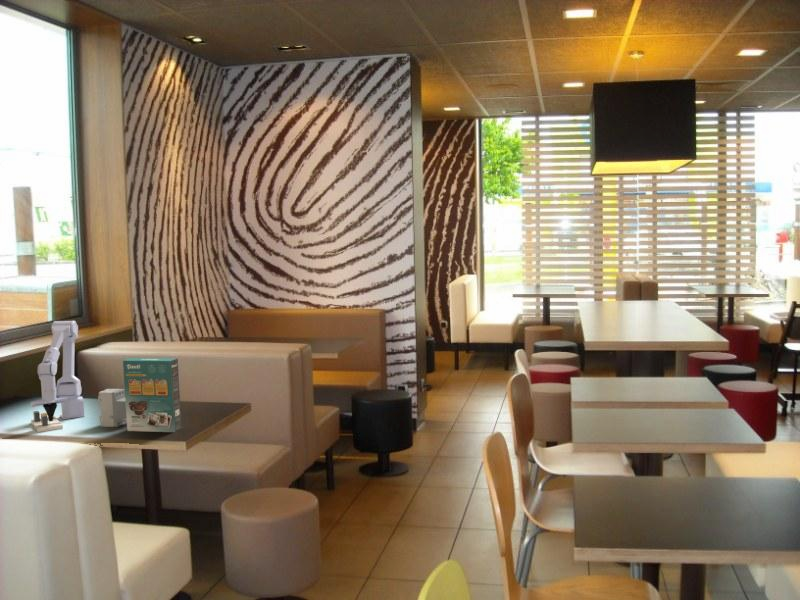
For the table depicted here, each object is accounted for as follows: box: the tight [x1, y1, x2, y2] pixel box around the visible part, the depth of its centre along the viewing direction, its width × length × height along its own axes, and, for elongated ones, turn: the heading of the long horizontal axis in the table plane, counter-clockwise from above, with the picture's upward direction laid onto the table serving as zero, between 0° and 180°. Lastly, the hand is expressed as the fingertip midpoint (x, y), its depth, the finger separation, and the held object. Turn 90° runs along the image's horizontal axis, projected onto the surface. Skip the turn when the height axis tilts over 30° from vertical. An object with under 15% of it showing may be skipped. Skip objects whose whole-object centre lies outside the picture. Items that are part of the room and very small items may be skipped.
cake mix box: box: [122, 357, 182, 433], centre depth 358 cm, size 22×6×30 cm, turn 77°
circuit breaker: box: [97, 388, 127, 428], centre depth 370 cm, size 8×14×15 cm, turn 78°
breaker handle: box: [40, 412, 48, 426], centre depth 367 cm, size 2×4×5 cm, turn 31°
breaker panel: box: [30, 410, 64, 433], centre depth 373 cm, size 10×20×6 cm, turn 31°
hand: (51, 420), depth 369 cm, fingers closed
